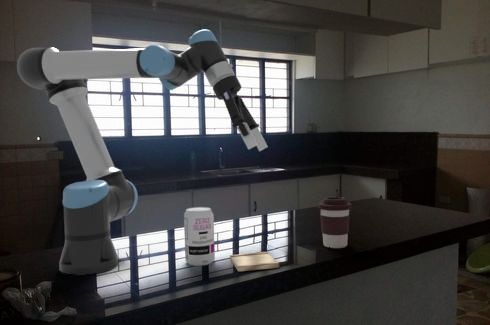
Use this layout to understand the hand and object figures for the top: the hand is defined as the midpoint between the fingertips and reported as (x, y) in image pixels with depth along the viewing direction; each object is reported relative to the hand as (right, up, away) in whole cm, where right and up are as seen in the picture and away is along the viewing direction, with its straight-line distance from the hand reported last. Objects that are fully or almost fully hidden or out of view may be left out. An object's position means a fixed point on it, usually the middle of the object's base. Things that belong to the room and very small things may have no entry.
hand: (258, 148), depth 114 cm
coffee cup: (+25, -30, +16) cm, 42 cm away
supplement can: (-16, -32, +3) cm, 36 cm away
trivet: (-1, -32, 0) cm, 32 cm away
